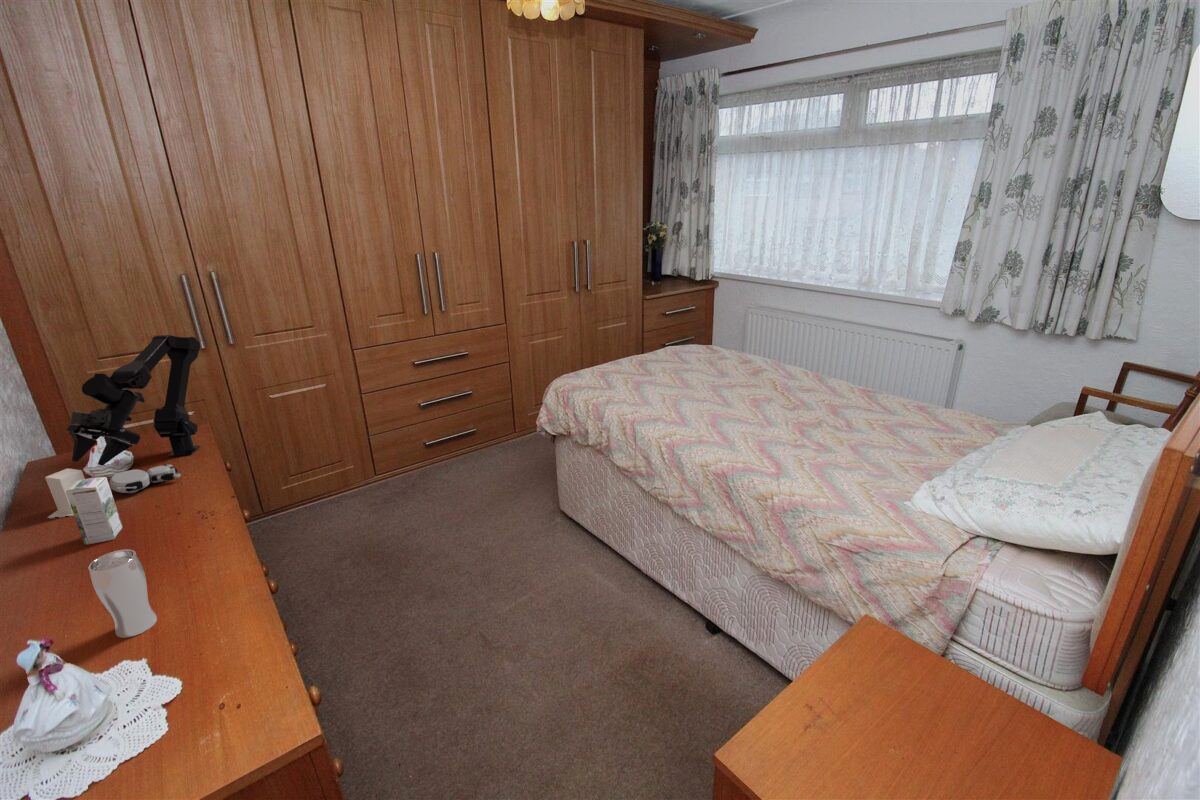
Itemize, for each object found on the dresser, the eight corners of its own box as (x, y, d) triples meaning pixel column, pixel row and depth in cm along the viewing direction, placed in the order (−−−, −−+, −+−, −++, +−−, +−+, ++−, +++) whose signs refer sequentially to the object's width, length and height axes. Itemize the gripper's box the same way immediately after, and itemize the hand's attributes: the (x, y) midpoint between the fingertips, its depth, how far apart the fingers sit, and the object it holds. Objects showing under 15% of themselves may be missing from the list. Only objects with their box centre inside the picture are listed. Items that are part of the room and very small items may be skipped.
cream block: (79, 501, 145) (67, 468, 141) (94, 503, 144) (81, 470, 140) (58, 511, 140) (44, 477, 137) (73, 513, 139) (59, 479, 136)
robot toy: (173, 472, 164) (108, 487, 153) (170, 458, 162) (104, 472, 151) (184, 485, 156) (117, 501, 145) (182, 470, 155) (113, 486, 144)
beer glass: (154, 608, 106) (131, 543, 101) (164, 624, 102) (141, 558, 97) (109, 628, 101) (82, 561, 96) (117, 646, 97) (90, 577, 92)
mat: (69, 502, 145) (69, 501, 145) (104, 499, 147) (103, 498, 146) (47, 518, 138) (47, 517, 137) (84, 514, 139) (83, 513, 139)
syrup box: (94, 533, 131) (74, 480, 126) (124, 527, 134) (106, 475, 129) (84, 545, 126) (63, 491, 122) (115, 539, 129) (96, 486, 124)
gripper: (62, 395, 145) (28, 449, 139) (115, 400, 141) (82, 456, 134) (103, 412, 155) (73, 463, 149) (153, 417, 151) (124, 470, 144)
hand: (87, 463), depth 144 cm, fingers open, 9 cm apart
